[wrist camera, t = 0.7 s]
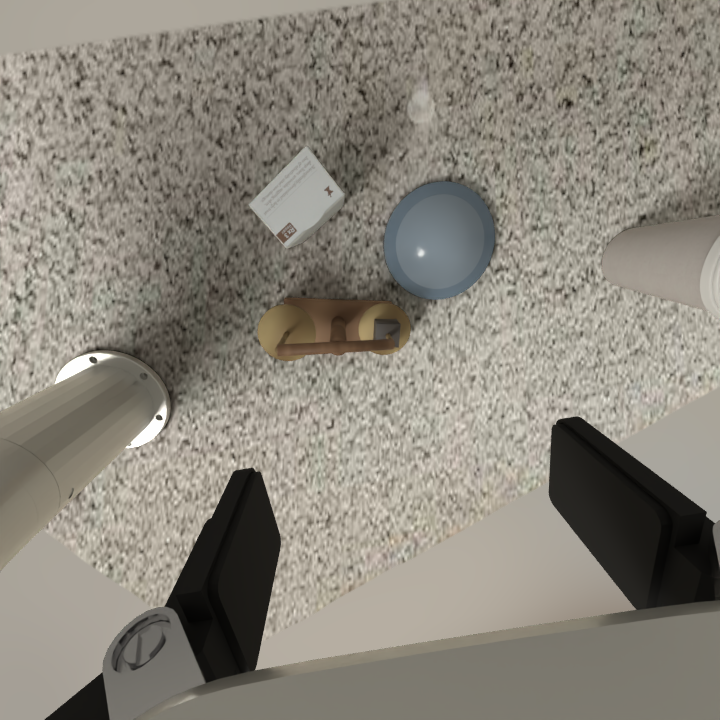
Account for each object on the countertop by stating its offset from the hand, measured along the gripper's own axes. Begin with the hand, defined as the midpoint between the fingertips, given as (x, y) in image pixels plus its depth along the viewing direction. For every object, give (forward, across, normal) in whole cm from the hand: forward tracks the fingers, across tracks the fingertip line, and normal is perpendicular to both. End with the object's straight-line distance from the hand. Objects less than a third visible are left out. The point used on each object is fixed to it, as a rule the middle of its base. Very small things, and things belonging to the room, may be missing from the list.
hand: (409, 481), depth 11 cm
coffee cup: (+31, -32, 0) cm, 44 cm away
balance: (+30, +3, +1) cm, 30 cm away
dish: (+30, -9, -6) cm, 32 cm away
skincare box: (+30, +4, -11) cm, 32 cm away
